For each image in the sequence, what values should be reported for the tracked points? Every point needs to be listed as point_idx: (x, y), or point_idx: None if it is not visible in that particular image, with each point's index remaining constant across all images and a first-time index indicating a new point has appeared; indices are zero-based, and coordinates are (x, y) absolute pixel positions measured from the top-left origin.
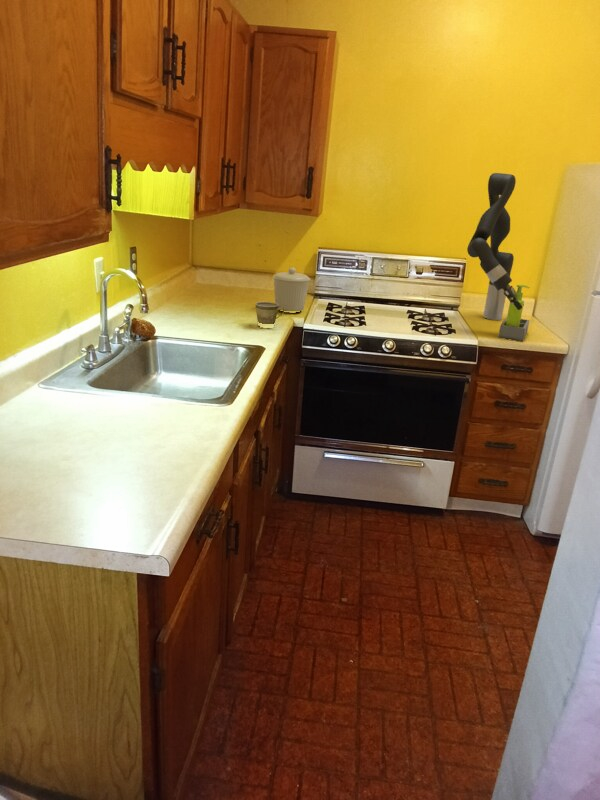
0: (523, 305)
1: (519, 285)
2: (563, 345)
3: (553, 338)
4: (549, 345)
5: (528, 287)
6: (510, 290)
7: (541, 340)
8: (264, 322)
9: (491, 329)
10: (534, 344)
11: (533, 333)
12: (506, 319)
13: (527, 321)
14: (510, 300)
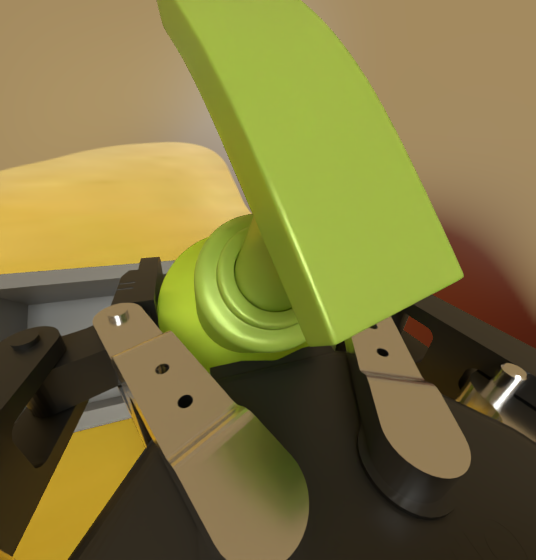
0: (159, 260)
1: (420, 207)
2: (184, 144)
3: (72, 178)
4: (227, 185)
5: (285, 6)
6: (451, 412)
7: (163, 216)
8: None
9: (98, 485)
10: None
11: (17, 267)
12: (86, 415)
13: (36, 280)
14: (411, 337)
